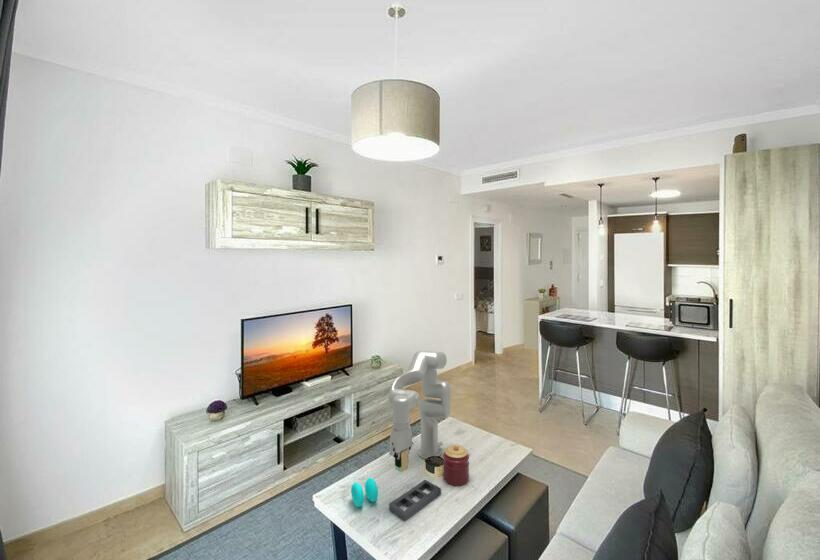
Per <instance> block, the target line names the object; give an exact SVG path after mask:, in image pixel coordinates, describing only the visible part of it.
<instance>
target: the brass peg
mask: <svg viewBox="0 0 820 560" xmlns="http://www.w3.org/2000/svg"><path fill="white" fill-rule="evenodd" d="M397 454H398V453H397ZM400 459H401V467H400V468H399V467H397V466H395V465H394V467H395V470H396V471H398V472H400V473H403V472H405V471H407V470H409V454H408V449H405V450H403V451H401V452H400Z"/></svg>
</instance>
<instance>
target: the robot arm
mask: <svg viewBox="0 0 820 560" xmlns="http://www.w3.org/2000/svg"><path fill="white" fill-rule="evenodd" d="M446 366H447V355H446V353H445V352H441V351H433V350H432V351H430V350H418V351H415V353H414V354H413V356H412V358H411V362H410V363H409V367H408V369H407V371H405V372H404V373H403V374H401V375H399V376H397V378H396V379H395V380H394V381H393V383H392V385H391V387H390V389H389V393H388V403H389V404H390V405H391V406H392V428H391V430H390V436H389V453H388V455H389V456H391V457H393V458H394V467H395V466H397V467H399V468H400V467H401V459H400V452H401V451H403V450H405V449H408V455H409V454H410V451H411V448H412V447H413V445H414V441H413V434H412V427H411V424H410V423H411V417H410V416H411V415H410V414H411V412H410V411H411V410H412V409H414V408H416V407H418V411H419V417H420V448H419V449H418V452H417V454H418V456H419V457H420V458H422V459H424V460H426V459H425V458H427V457H430V456H439V457H440V456H441V450H440V447H442V446H443V444H444V443H443V442H442V441H440V442H439V439H438V438H439V436H438V435H439V433H438V432H439V427H438V424H439V423H438V421H437V419H443V420H444V419H448V418H449V417H450V415H451V385H450V383H449V382H448V381H446V380H439V379H438V370H441V369H444V368H445V367H446ZM420 382H421V394H422V395H423V396H424V397H427V398H422V399H420V398H421V397H420V394H419V392H418V391H416V390H413V389H412V390H411V389H409V390H408V389H404V388H405V387H407V386H411V385H415V384H417V383H420ZM397 453H398V454H397Z"/></svg>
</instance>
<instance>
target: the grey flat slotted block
mask: <svg viewBox="0 0 820 560" xmlns="http://www.w3.org/2000/svg"><path fill="white" fill-rule="evenodd" d="M425 490H428V491H429V492H428V493H426V492H424V491H425ZM441 495H442V488H441V487H439V486H437V485H436V484H434V483H432V482H430V481H429V480H427V479H424V480H422V481H421V482H419V483H417V484H416V485H415V486H413V487H412V488H410V489H408V490H407V491H405V493H403V494H401V495H400V496H399V497H397V498H395V499H394V500H392V501H391V502H390V503H388V510H389V511H390V512H391V513H392V514H394V515H395V516H397V517H398V518H399V519H401V520H403V522H407V521H408V520H410V519H411V518H412V517H413V516H415V515H416V514H418V513H419V512H420V511H422V510H423V509H424V508H425V507H426V506H428V505H429V504H430V503H432V502H433V501H434V500H436V499H437V498H438V497H440V496H441ZM415 497H416V498H418V500H417V501H415V500H413V498H415ZM403 505H405V506H406V507H407V508H406V509H405V510H404V509H402V506H403Z"/></svg>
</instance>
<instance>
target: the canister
mask: <svg viewBox="0 0 820 560" xmlns="http://www.w3.org/2000/svg"><path fill="white" fill-rule="evenodd" d="M442 457H443V461H442V462H443V463H442V464H443V472H442V476H443V480H444V481H445V482H446V483H447V484H448V485H451V486H455V487H458V486H460V487H461V486H464V485H466V484H467V483H468V482H469V479H470V471H469V470H470V468H469V467H470V466H469V465H470V461H469V459H470V455H469V453H468V450H467V449H466V448H465V447H463V446H462V445H459V444H452V445H449V446H447V447H445V449H444V453H443V455H442Z"/></svg>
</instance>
